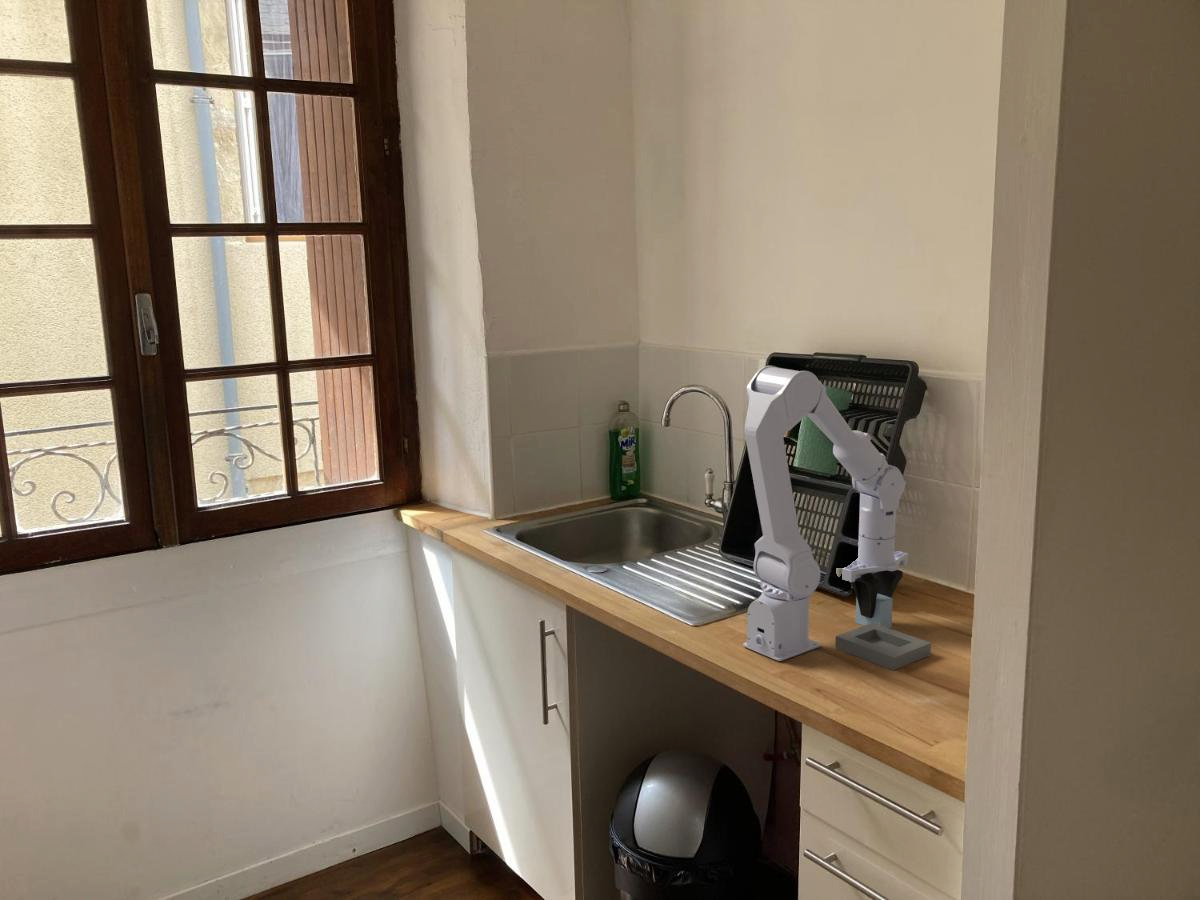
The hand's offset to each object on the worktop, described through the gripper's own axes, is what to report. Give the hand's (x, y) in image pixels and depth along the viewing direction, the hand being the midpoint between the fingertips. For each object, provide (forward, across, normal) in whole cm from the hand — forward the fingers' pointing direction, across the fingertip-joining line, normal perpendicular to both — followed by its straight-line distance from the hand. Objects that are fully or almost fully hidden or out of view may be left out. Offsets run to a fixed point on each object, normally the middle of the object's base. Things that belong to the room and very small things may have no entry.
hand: (873, 613), depth 165 cm
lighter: (+2, +12, +15) cm, 19 cm away
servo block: (+2, 0, 0) cm, 2 cm away
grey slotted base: (+2, -8, -8) cm, 11 cm away
